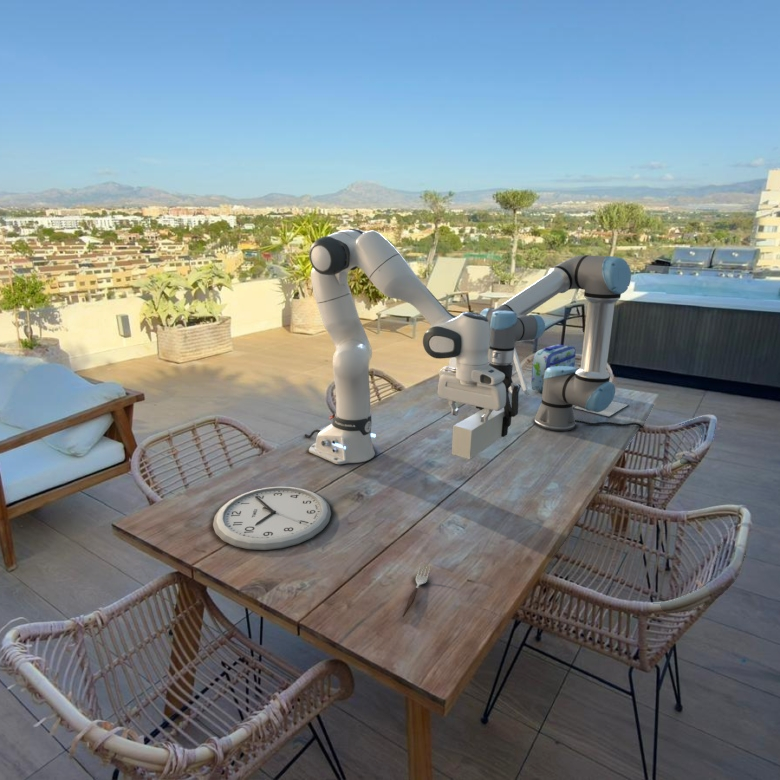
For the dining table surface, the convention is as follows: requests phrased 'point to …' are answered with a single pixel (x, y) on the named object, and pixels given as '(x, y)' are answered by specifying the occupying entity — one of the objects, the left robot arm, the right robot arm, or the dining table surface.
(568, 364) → the lunch box
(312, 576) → the dining table surface
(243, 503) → the wall clock
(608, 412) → the invitation card
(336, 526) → the dining table surface
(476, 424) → the bar
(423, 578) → the fork
